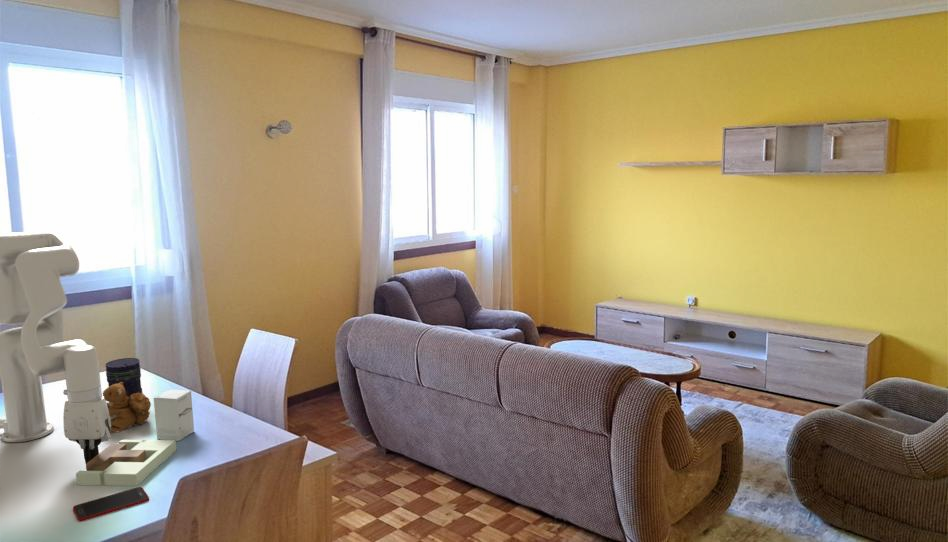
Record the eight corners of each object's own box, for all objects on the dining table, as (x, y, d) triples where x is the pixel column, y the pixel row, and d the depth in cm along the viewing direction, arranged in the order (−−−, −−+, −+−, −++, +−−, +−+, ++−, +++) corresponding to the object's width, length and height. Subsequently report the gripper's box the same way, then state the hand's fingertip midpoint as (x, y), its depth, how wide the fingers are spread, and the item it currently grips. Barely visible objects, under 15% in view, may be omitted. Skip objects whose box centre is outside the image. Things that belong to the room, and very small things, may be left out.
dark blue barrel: (106, 406, 218) (101, 362, 215) (138, 399, 224) (134, 356, 222) (114, 415, 211) (109, 369, 208) (148, 407, 217) (143, 362, 215)
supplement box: (179, 441, 190) (175, 399, 188) (156, 439, 192) (152, 397, 190) (195, 431, 197) (191, 390, 195) (172, 429, 199) (169, 388, 197)
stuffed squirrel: (105, 422, 205) (100, 380, 203) (155, 416, 210) (152, 375, 207) (98, 434, 196) (93, 391, 194) (151, 428, 200) (147, 385, 198)
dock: (77, 484, 165) (75, 473, 165) (122, 450, 185) (121, 439, 185) (136, 485, 165) (135, 474, 164) (176, 450, 184) (175, 440, 184)
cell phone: (72, 510, 154) (71, 506, 154) (141, 489, 163) (141, 485, 163) (78, 523, 148) (78, 519, 148) (150, 501, 158) (150, 498, 157)
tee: (87, 477, 169) (85, 464, 169) (112, 456, 181) (111, 443, 181) (131, 476, 169) (129, 463, 169) (153, 455, 181) (152, 443, 181)
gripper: (46, 399, 169) (54, 467, 172) (104, 399, 168) (111, 468, 171) (66, 388, 176) (73, 454, 179) (121, 389, 175) (128, 455, 178)
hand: (92, 461), depth 175 cm, fingers closed
